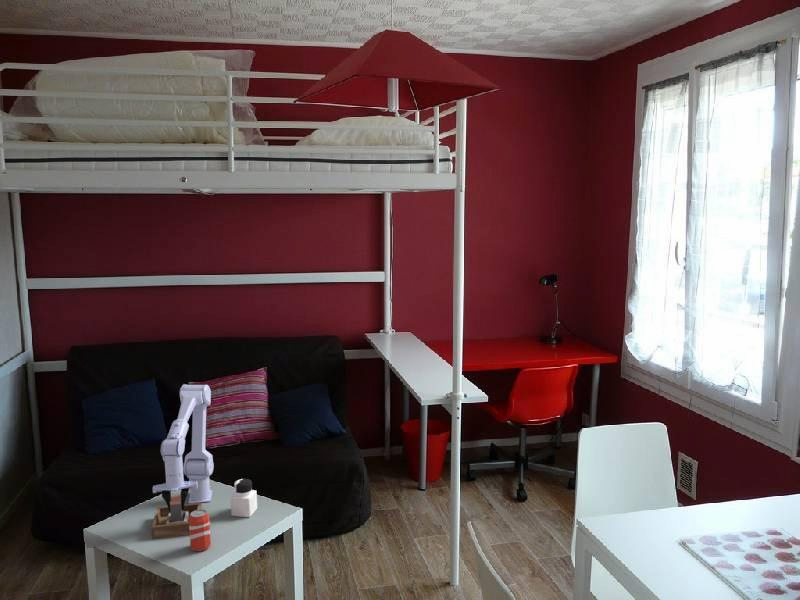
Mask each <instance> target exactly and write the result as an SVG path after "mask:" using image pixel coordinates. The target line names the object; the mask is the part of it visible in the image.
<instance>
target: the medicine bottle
mask: <svg viewBox="0 0 800 600" xmlns="http://www.w3.org/2000/svg"><path fill="white" fill-rule="evenodd" d="M257 509H258V495H257V490H254V489H253V481H252V480H251V479H249V478H241V479H238V480H236V481H234V493H233V494H232V495H231V497H230V512H231V517H241V518H251V517H252V515H253V514H255V512H256V510H257Z"/></svg>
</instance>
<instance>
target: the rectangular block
mask: <svg viewBox="0 0 800 600" xmlns="http://www.w3.org/2000/svg"><path fill="white" fill-rule="evenodd" d="M170 511H171V521H179V520H182V518H183V510H182V501H181V494H175V495H171V500H170Z"/></svg>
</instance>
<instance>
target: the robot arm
mask: <svg viewBox="0 0 800 600" xmlns="http://www.w3.org/2000/svg"><path fill="white" fill-rule="evenodd" d="M211 397H212V390H211V388H210V386H209V385H208V384H185V383H183V384H182V386H181V387H180V388H179V398H180V406H179V407H180V408H179V411H178V414H177V415H178V416H177V419H175V420H174V421H173V422H172V423H171V426H170V429H169V432H168V433H167V437H166V438H165V439H164V440H162V442H161V444H160V454H161V457H162V460H163V462H164V468H165V469H164V471H165V483H162V484H156V485H153V486H152V493H153V494H157V493H161V497H162V499H163V500H164V502H165V504H166V506H168V509H169V512H171V511H170V500H171V496H172V492H177V491H180V495H181V501H182V510H184V506H185V503H186V499H187V497H188V494H190V495H189V497H188V498H189V499H188V504H194V503H208V502H210V503H211V501H212V496H213V489H211V487H210V485H211V484H210V482H211V481H210V476H211V475H212V474H213V473H214V466H215V465H214V459H213V457H214V456H213V454H211V453H210V451H207V450H206V439H207V438H206V434H207V430H206V429H207V407H208V406H211V402H212V401H211V400H212V399H211ZM191 415H192V424H191V425H192V427H191V451H190V452H189V453H187V454H186V455H185V457H184V462H183V454H184V452H185V448H186V447H185V445H186V436H187V433H188V431H189V427H190V425H189V423H188V421H189V419H190V417H191ZM184 475H185V476H186V477H187V479H188V481H187V480H186V481H185V479H184Z"/></svg>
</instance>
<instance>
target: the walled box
mask: <svg viewBox="0 0 800 600" xmlns="http://www.w3.org/2000/svg"><path fill="white" fill-rule="evenodd" d="M199 509H203V507H202V502H200V503H190V504H189V503H187V504H185V506H184V510H183V518H182V520H179V521H171V512H169V509H168V506H167V505H165V506H158V507H157V508H156V511H155V514H154V517H153V521H152V523H151V526H150V527H151V528H150V530H151V539H153V540H154V538H155V539H162V538H163V539H164V538H173V537H180V536H188V535H189V536H190V531H189V518H190V516H191V515H190V514H191V512H193V511H195V510H199Z"/></svg>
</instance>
